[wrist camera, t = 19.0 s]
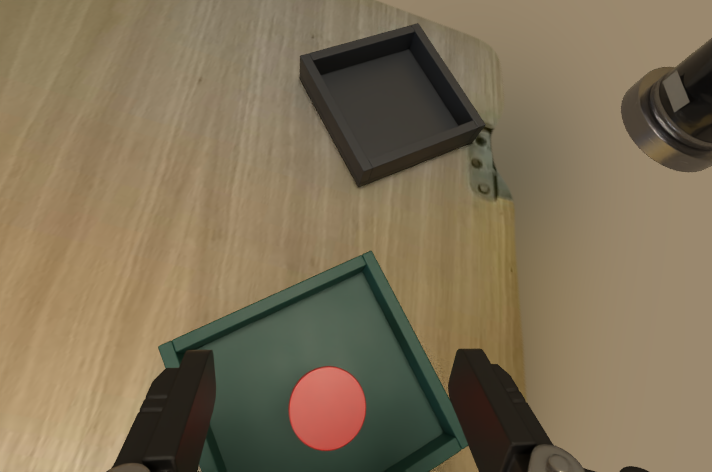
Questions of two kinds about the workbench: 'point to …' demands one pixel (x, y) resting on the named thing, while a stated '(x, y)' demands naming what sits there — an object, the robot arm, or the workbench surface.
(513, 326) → the workbench surface
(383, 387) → the tray near
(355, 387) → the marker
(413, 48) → the tray far
